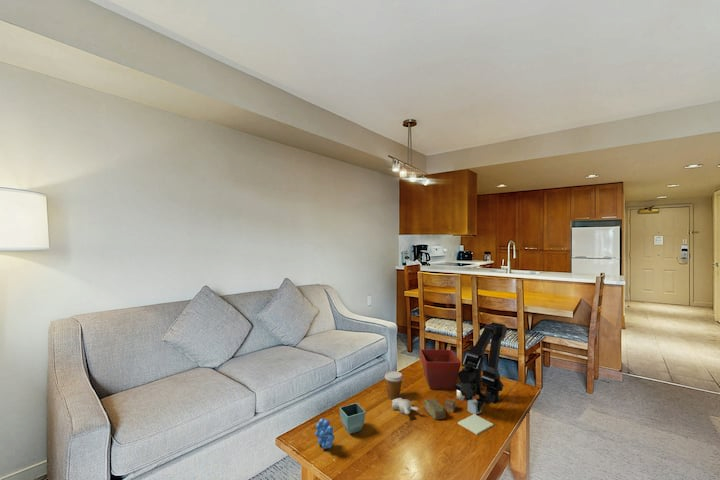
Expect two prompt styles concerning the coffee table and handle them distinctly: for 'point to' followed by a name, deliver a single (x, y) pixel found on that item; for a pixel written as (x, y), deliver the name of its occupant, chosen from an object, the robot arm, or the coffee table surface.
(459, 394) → the ivory rounded cylinder
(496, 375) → the robot arm
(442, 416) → the stone block
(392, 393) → the disposable coffee cup
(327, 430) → the grapes
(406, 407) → the bunny figurine
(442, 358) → the plant pot
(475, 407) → the slate-blue block
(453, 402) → the walnut cube
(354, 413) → the flower pot
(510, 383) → the coffee table surface
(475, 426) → the felt mat
